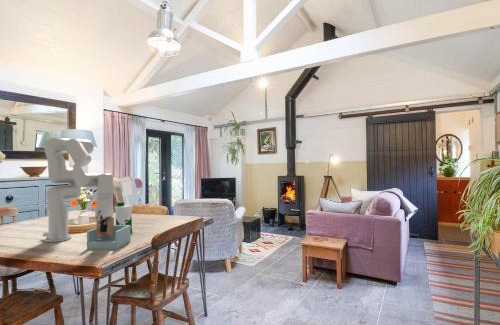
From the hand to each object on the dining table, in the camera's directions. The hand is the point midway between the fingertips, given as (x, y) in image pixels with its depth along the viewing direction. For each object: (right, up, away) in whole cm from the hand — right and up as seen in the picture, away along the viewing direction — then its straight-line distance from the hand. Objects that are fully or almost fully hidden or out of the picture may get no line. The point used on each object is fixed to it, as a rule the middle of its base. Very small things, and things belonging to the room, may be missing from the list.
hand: (105, 230), depth 143 cm
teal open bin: (0, -9, +5) cm, 10 cm away
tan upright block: (0, -3, 0) cm, 3 cm away
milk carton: (-3, -9, +27) cm, 28 cm away
